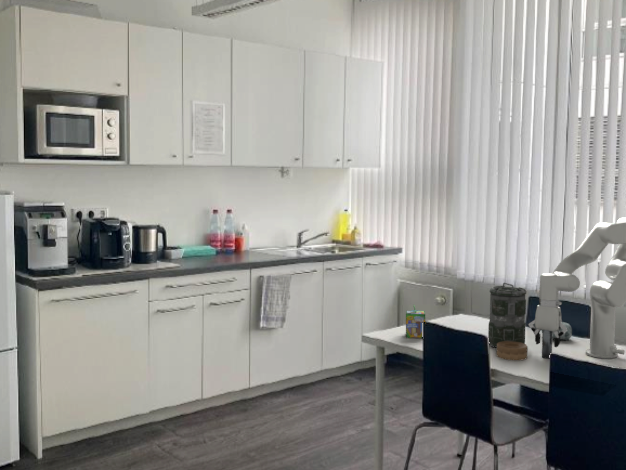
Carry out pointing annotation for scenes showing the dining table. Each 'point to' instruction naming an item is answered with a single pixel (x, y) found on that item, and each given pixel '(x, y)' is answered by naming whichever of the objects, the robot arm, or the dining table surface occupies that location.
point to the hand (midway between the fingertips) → (547, 344)
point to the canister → (507, 314)
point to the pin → (546, 343)
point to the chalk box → (414, 323)
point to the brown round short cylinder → (511, 350)
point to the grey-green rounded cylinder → (567, 334)
